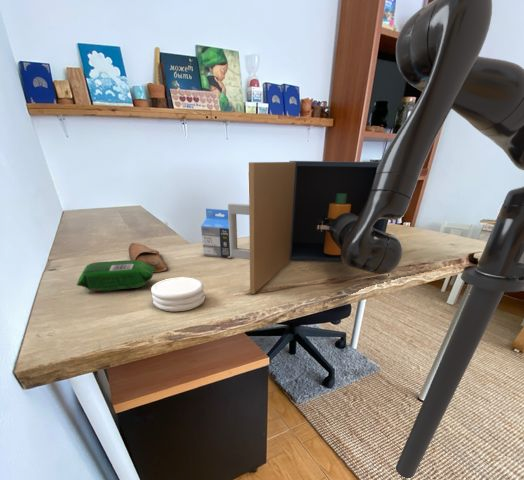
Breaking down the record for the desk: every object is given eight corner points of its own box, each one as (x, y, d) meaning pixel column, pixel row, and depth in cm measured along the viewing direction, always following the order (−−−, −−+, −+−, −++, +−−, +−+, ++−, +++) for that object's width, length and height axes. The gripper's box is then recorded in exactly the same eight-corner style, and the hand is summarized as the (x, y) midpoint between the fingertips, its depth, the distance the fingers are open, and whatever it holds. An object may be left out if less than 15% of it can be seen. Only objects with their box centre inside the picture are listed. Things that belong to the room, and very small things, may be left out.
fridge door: (227, 289, 64) (220, 161, 51) (268, 258, 85) (270, 161, 72) (254, 293, 63) (253, 162, 50) (289, 261, 83) (295, 161, 70)
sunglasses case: (169, 268, 75) (151, 247, 70) (147, 285, 74) (127, 264, 70) (159, 251, 88) (143, 232, 84) (140, 265, 88) (123, 247, 84)
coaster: (176, 317, 53) (173, 299, 51) (143, 303, 58) (139, 286, 56) (215, 300, 60) (213, 283, 58) (183, 288, 65) (180, 273, 63)
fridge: (378, 262, 84) (401, 162, 70) (287, 260, 84) (293, 161, 71) (362, 246, 99) (378, 162, 85) (284, 245, 99) (289, 160, 86)
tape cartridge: (203, 255, 87) (198, 210, 80) (209, 252, 90) (205, 208, 83) (230, 258, 85) (228, 212, 78) (235, 255, 88) (234, 210, 81)
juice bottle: (347, 253, 83) (357, 193, 75) (333, 256, 81) (342, 194, 73) (333, 249, 87) (341, 192, 79) (319, 251, 85) (326, 192, 76)
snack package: (157, 289, 64) (152, 266, 62) (78, 295, 61) (70, 270, 58) (158, 279, 70) (154, 257, 67) (87, 283, 67) (80, 260, 64)
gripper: (384, 215, 65) (364, 206, 80) (320, 215, 66) (311, 205, 80) (377, 250, 70) (359, 235, 84) (316, 249, 70) (308, 234, 84)
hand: (335, 220), depth 82 cm, fingers closed on juice bottle, 5 cm apart
